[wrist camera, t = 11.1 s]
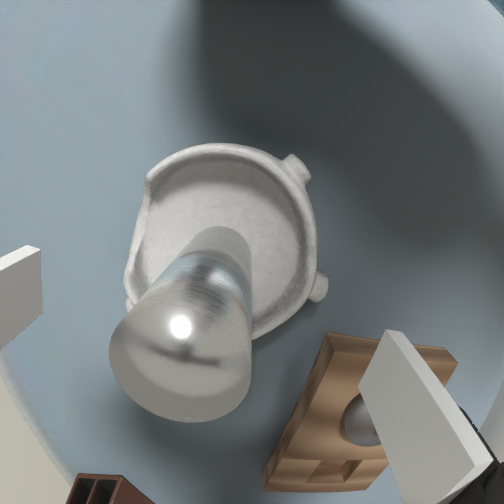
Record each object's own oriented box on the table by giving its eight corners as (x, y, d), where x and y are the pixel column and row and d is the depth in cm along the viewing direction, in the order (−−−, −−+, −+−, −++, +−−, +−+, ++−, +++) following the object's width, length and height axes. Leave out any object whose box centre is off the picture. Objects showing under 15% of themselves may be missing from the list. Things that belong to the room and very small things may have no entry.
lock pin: (193, 218, 18) (112, 286, 7) (259, 235, 19) (269, 327, 7) (180, 280, 19) (108, 400, 8) (242, 296, 20) (233, 434, 8)
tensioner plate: (326, 331, 26) (344, 375, 20) (444, 347, 27) (474, 381, 21) (262, 472, 32) (264, 511, 26) (360, 474, 32) (370, 507, 26)
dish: (145, 316, 26) (126, 347, 21) (132, 151, 22) (104, 149, 17) (314, 318, 26) (327, 350, 21) (323, 147, 22) (342, 143, 17)
